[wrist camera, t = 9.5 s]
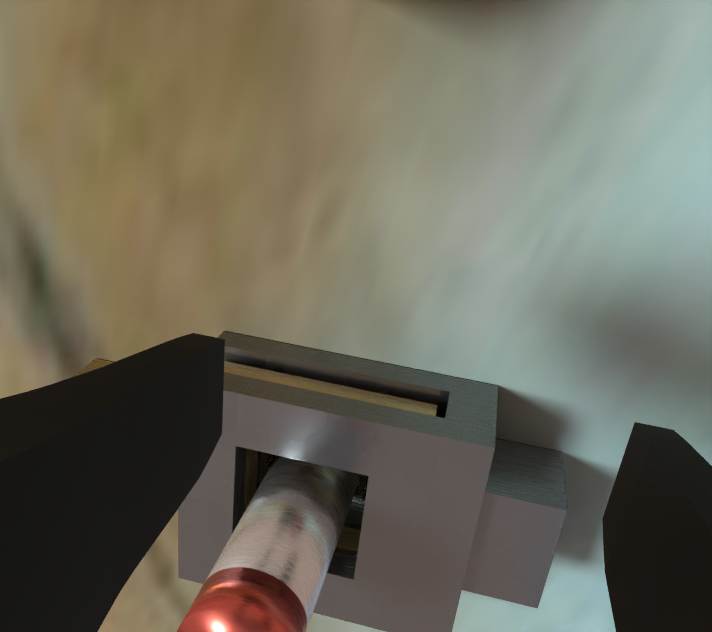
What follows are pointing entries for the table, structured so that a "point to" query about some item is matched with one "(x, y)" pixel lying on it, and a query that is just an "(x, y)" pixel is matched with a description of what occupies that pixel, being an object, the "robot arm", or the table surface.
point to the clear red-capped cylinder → (276, 552)
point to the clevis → (382, 482)
